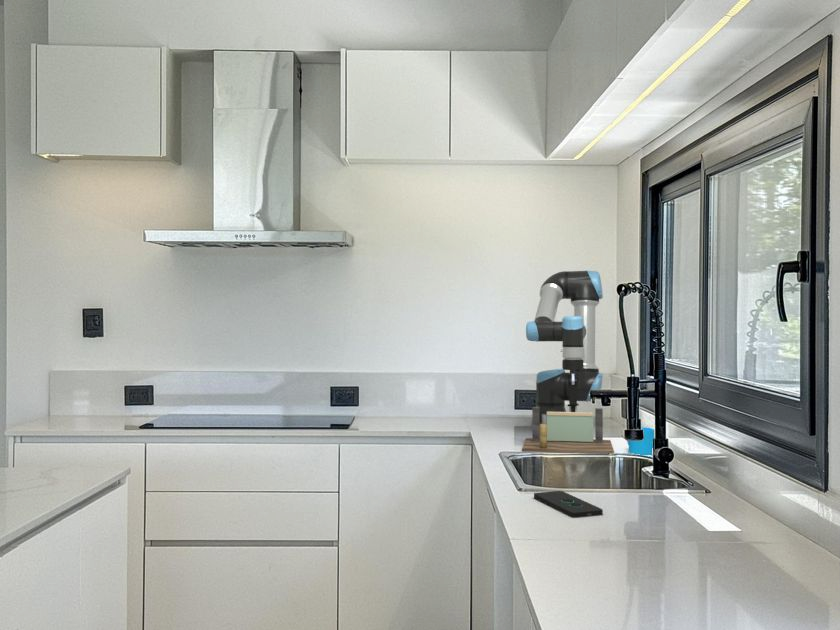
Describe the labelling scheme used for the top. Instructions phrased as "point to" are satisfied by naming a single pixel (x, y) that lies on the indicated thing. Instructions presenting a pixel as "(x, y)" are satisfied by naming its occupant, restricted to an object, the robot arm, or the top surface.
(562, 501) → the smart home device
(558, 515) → the top surface
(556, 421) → the bar
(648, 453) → the mug
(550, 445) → the gate frame
